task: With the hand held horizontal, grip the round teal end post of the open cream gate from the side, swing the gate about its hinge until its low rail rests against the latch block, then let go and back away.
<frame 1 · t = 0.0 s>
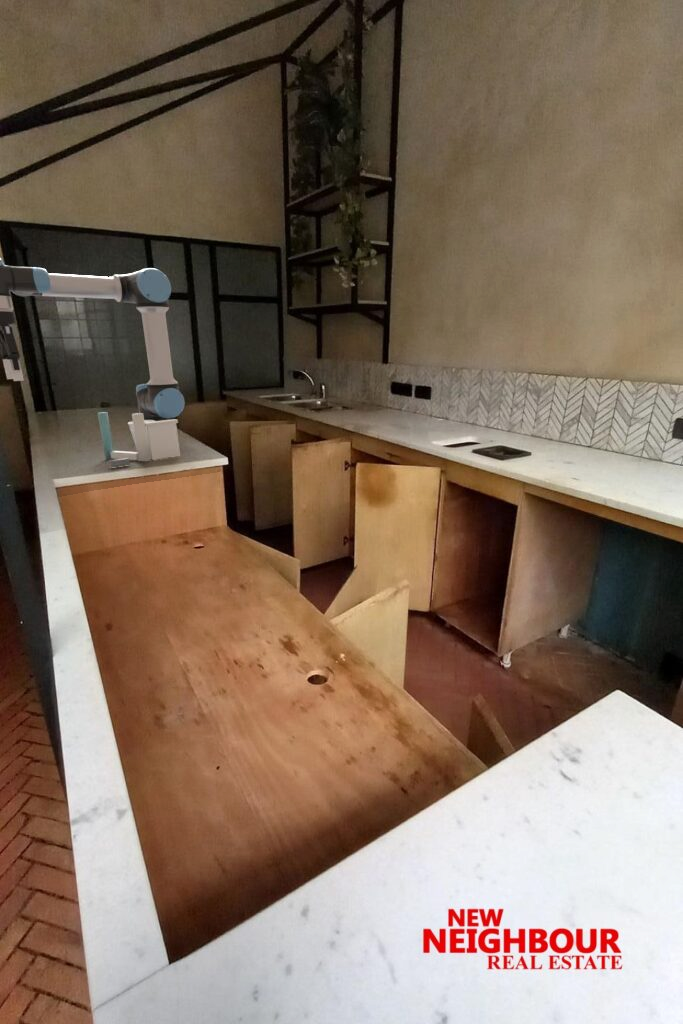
hand: (15, 380, 165), 28 cm above the countertop, tool pointing down, fingers open, 13 cm apart
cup: (146, 451, 190), on the countertop
latch block: (120, 466, 165), on the countertop
gate: (123, 436, 172), point 8 cm above the countertop, hinge at -60.0°
fence stub: (165, 457, 177), on the countertop
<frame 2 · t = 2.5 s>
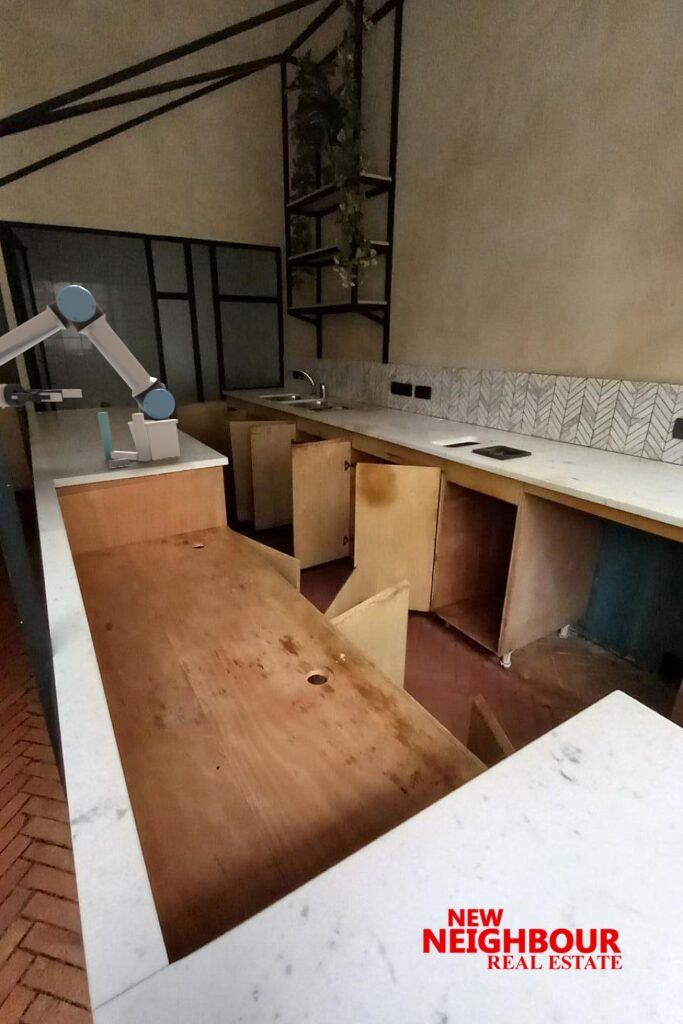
hand: (71, 395, 170), 22 cm above the countertop, tool horizontal, fingers open, 13 cm apart
nothing on the countertop moved.
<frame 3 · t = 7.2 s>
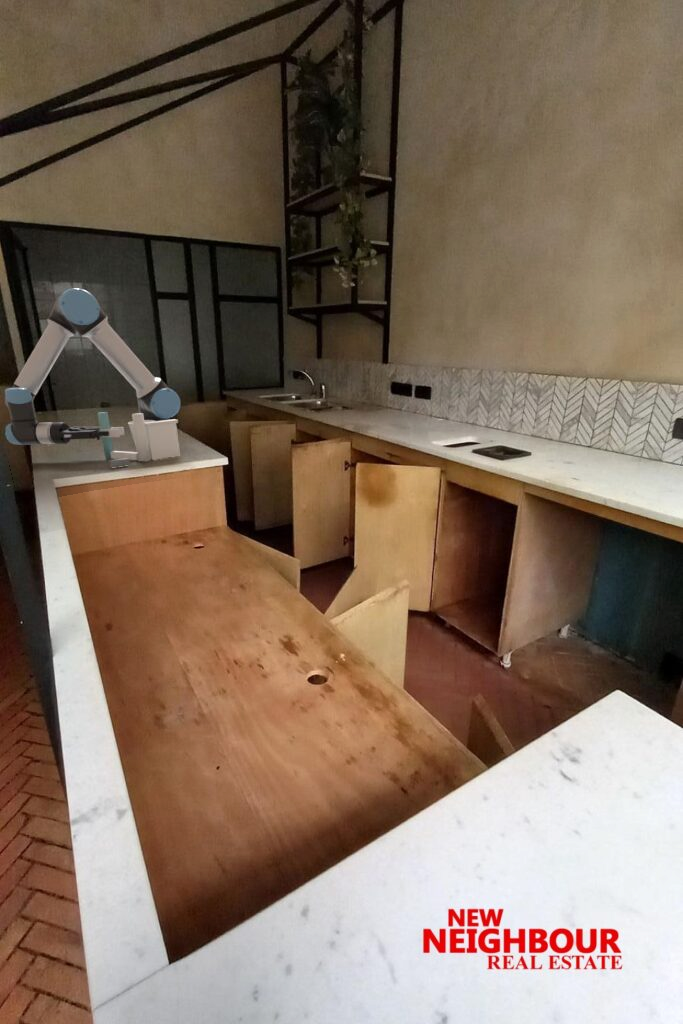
hand: (121, 431, 174), 10 cm above the countertop, tool horizontal, fingers closed on gate, 3 cm apart
gate: (123, 436, 172), point 8 cm above the countertop, hinge at -60.0°, touching gripper
everything else where it was.
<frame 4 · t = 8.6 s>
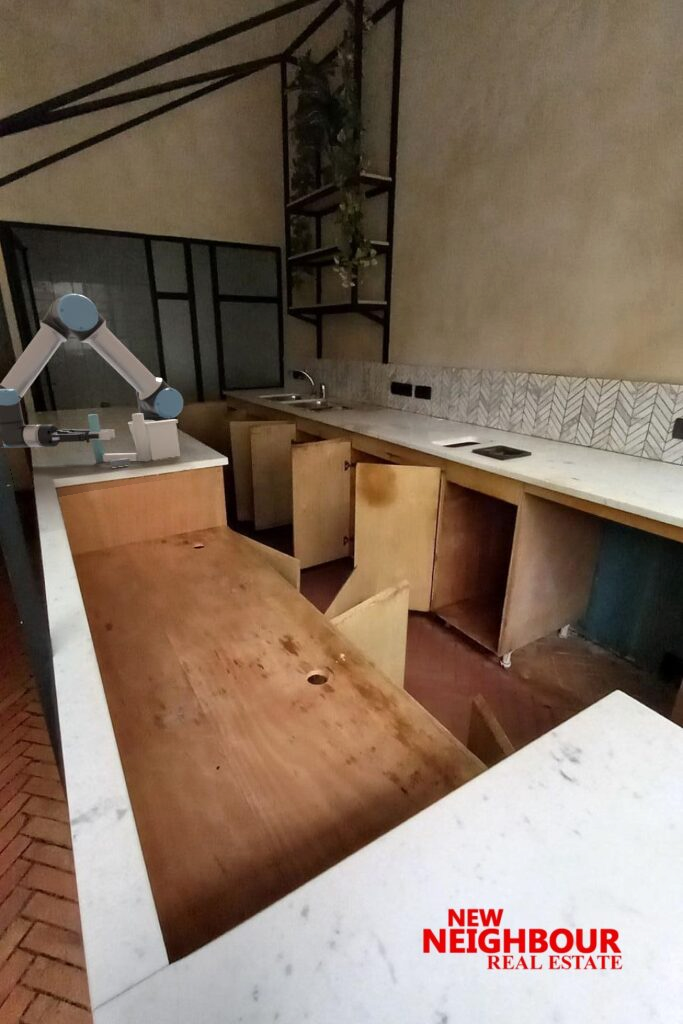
hand: (111, 434, 169), 10 cm above the countertop, tool horizontal, fingers closed on gate, 3 cm apart
gate: (119, 438, 170), point 8 cm above the countertop, hinge at -39.0°, touching gripper
everything else where it was.
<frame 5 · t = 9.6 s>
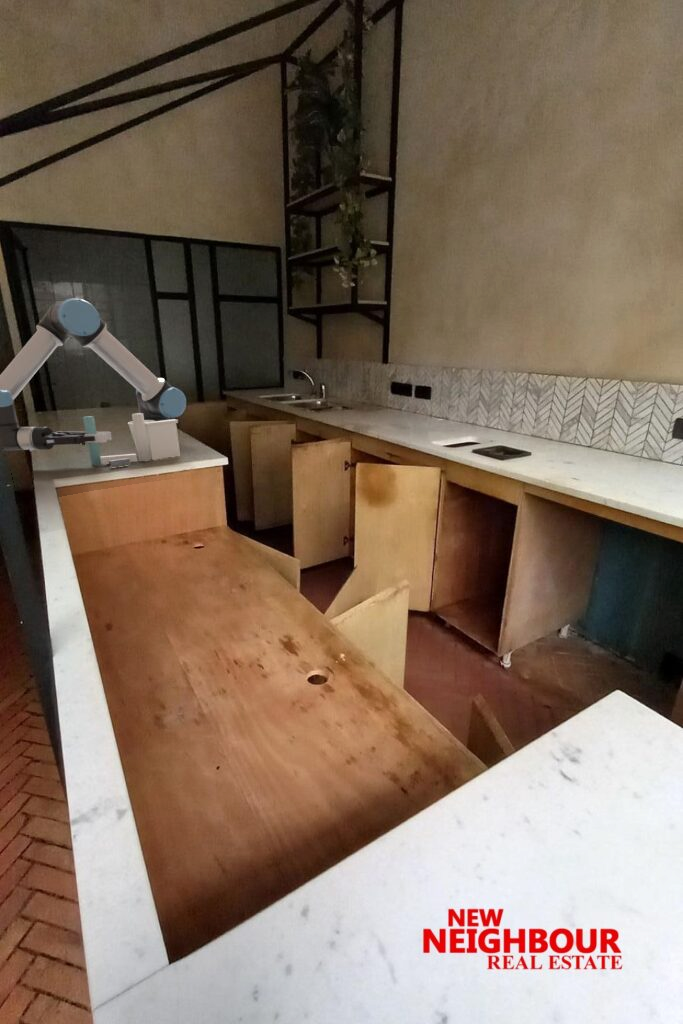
hand: (108, 437, 164), 10 cm above the countertop, tool horizontal, fingers closed on gate, 3 cm apart
gate: (117, 439, 167), point 8 cm above the countertop, hinge at -19.7°, touching gripper
everything else where it was.
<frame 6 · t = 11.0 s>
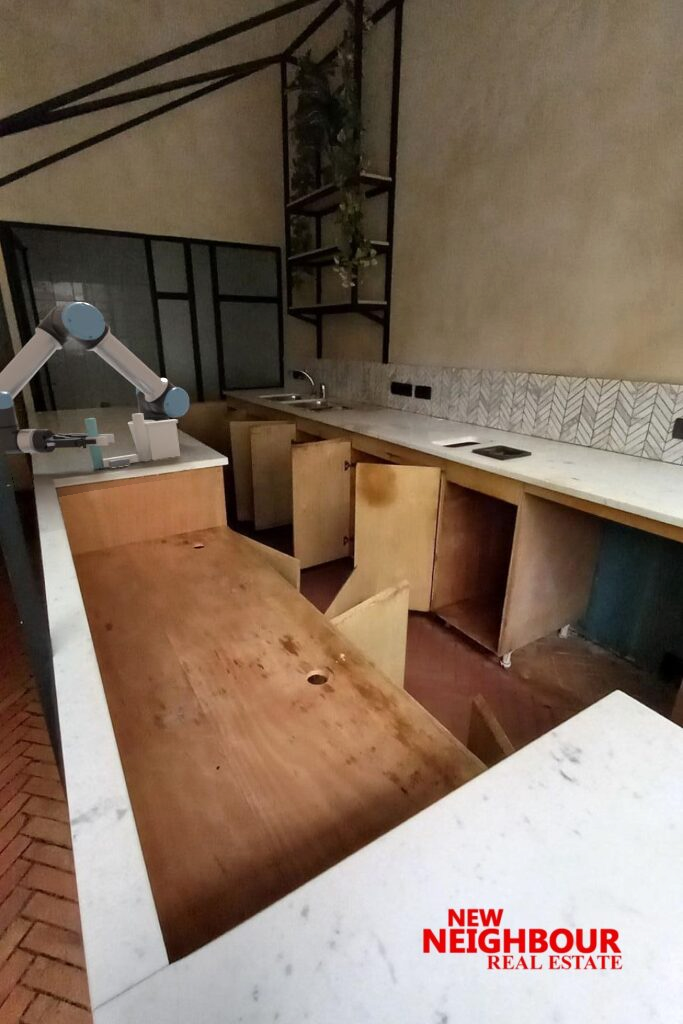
hand: (110, 439, 160), 10 cm above the countertop, tool horizontal, fingers open, 4 cm apart
gate: (118, 440, 165), point 8 cm above the countertop, hinge at 0.8°
everything else where it was.
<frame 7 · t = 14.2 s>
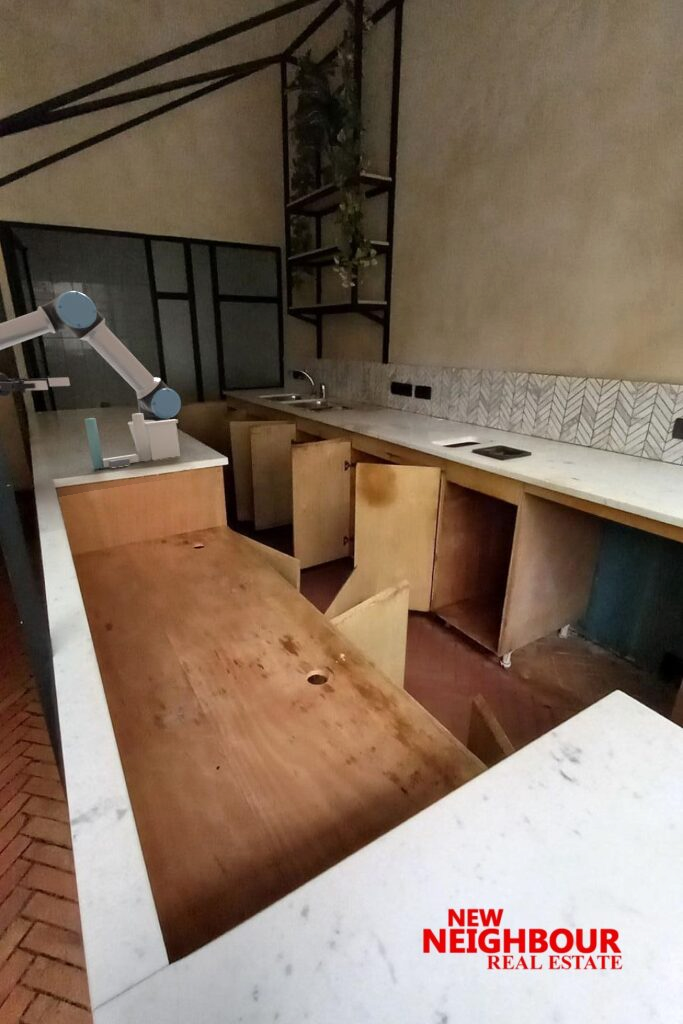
hand: (58, 383, 160), 27 cm above the countertop, tool horizontal, fingers open, 13 cm apart
nothing on the countertop moved.
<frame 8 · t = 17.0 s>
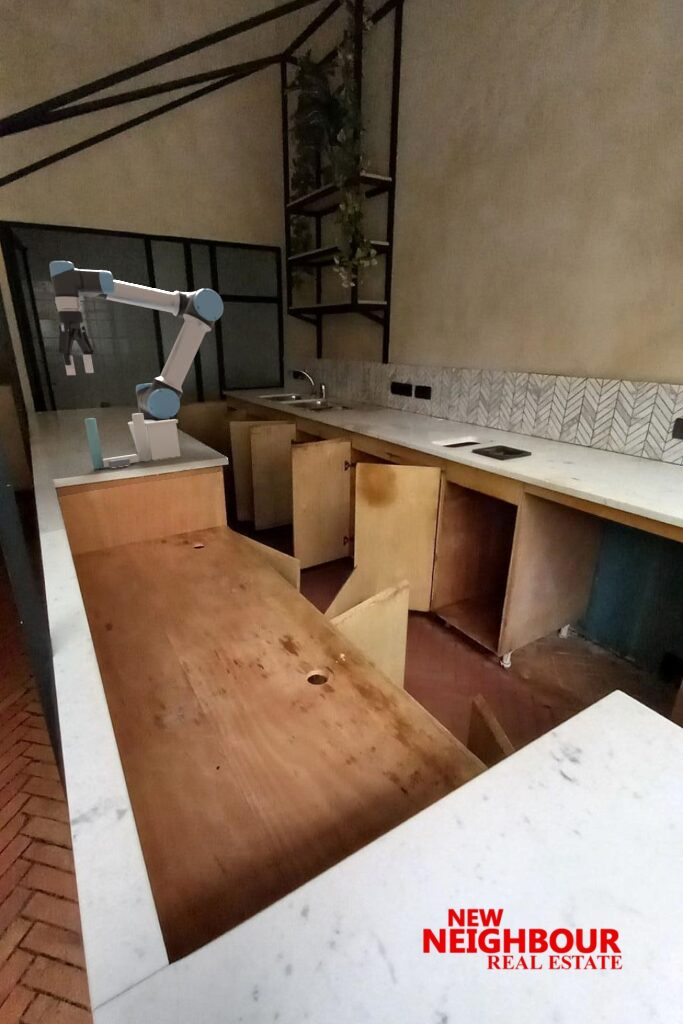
hand: (81, 374, 180), 29 cm above the countertop, tool pointing down, fingers open, 13 cm apart
nothing on the countertop moved.
at the end: gate at +1° (first picture: -60°); the gripper is holding nothing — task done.
